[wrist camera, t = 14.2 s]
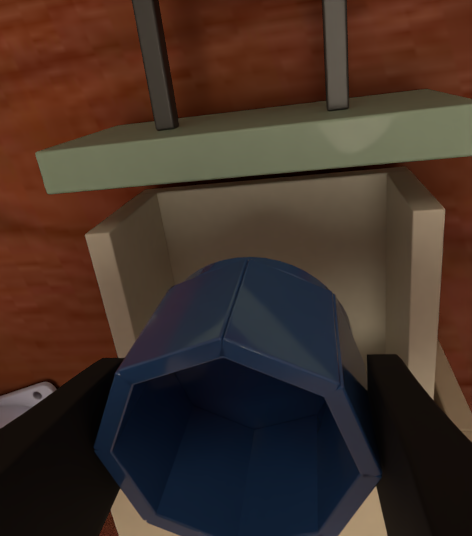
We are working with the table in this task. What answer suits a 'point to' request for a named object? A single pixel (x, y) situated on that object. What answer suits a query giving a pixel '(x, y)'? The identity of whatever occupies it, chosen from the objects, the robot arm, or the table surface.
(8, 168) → the table surface
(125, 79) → the table surface
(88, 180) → the drawer
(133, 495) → the cup
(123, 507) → the small storage cabinet
